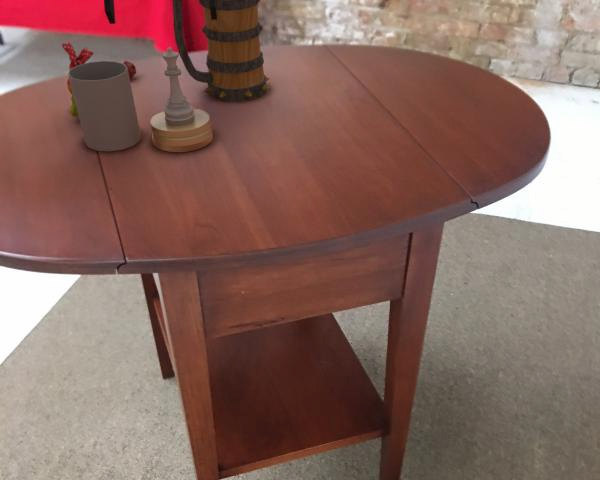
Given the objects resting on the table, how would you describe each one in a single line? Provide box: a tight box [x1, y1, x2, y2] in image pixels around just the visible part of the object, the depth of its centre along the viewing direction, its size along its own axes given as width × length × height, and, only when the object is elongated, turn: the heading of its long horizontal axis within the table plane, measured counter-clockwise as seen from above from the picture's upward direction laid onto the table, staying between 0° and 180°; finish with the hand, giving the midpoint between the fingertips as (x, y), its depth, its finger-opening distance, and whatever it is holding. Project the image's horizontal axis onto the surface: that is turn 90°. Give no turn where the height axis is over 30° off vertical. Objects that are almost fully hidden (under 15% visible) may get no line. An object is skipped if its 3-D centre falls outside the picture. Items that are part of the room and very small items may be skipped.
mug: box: [171, 0, 271, 103], centre depth 104 cm, size 13×17×20 cm
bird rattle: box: [61, 42, 94, 118], centre depth 103 cm, size 6×11×9 cm
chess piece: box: [161, 46, 194, 125], centre depth 92 cm, size 4×4×10 cm
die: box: [122, 60, 137, 79], centre depth 116 cm, size 3×3×3 cm
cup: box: [67, 60, 142, 152], centre depth 95 cm, size 8×8×10 cm
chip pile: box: [149, 107, 214, 153], centre depth 97 cm, size 10×9×3 cm
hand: (162, 15), depth 84 cm, fingers open, 13 cm apart
